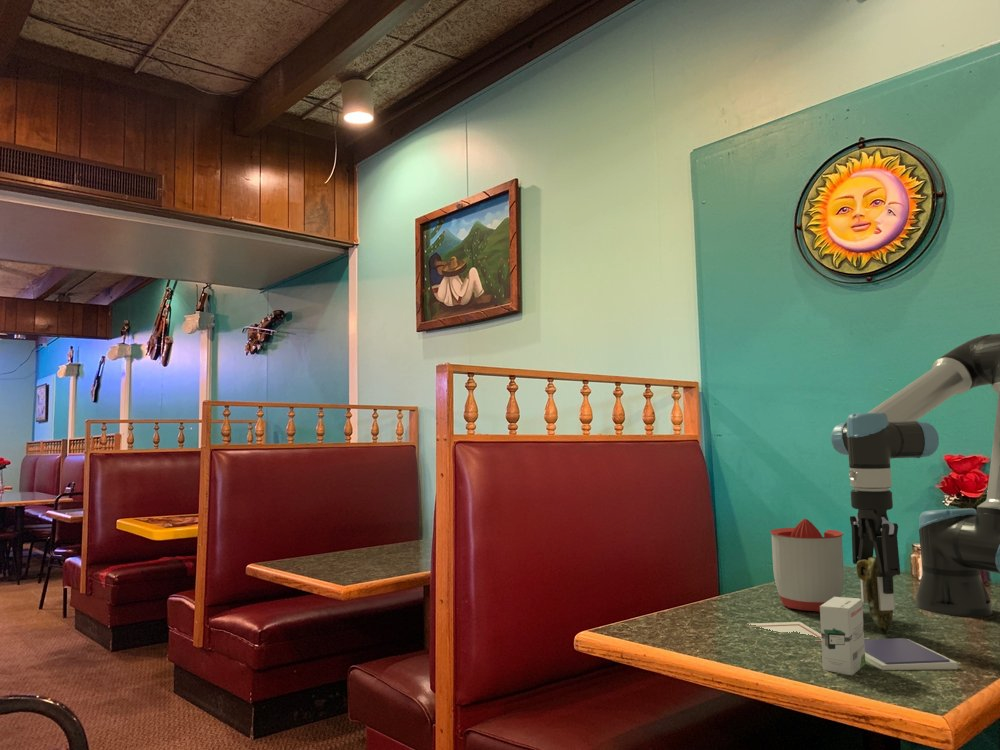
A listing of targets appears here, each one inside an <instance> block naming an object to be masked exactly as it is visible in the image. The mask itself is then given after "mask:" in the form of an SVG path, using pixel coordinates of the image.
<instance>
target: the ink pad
mask: <svg viewBox="0 0 1000 750" xmlns="http://www.w3.org/2000/svg"><path fill="white" fill-rule="evenodd" d="M864 644H865V662H867V663H869V664H871V665H872V666H874V667H876V668H878V669H879V670H882V671H883V670H884V671H886V670H887V671H891V670H893V671H894V670H895V671H896V670H899V671H900V670H902V671H904V670H908V671H909V670H911V671H912V670H958V669H959V668H958V667H959V666H958V661H956V660H953V659H951V658H948V656H947V657H946V656H945V655H943V654H940V653H938V652H937V651H934V650H933V649H930V648H929V647H926V646H924V645H922V644H920V643H918V642H916V641H913V640H912V639H909V638H905V637H898V638H873V639H871V638H870V639H867V638H866V639H864Z"/></svg>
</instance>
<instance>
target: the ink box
mask: <svg viewBox="0 0 1000 750" xmlns="http://www.w3.org/2000/svg"><path fill="white" fill-rule="evenodd" d="M819 615H820V619H819V621H820V634H821V641H822V642H821V641H820V642H821V655H822V656H821V657H822V658H821V659H822V661H821V662H822V670H823V671H828V672H834V673H837V674H842V675H848V676H853V675H855V674H856V673H857V672H858V671H859V670H861V669H862V668H863V667H864V666H865V665H866V661H865V644H864V640H865V631H864V630H865V629H864V608H863V602H862V599H861V598H857V597H842V596H841V597H833V598H832V599H830V600H829V601H827V602H825V603H824V604H822V605H821V606H820V612H819Z"/></svg>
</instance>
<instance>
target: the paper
mask: <svg viewBox="0 0 1000 750" xmlns="http://www.w3.org/2000/svg"><path fill="white" fill-rule="evenodd" d="M748 624H749V625H750V624H751V625H756V626H747V627H746V628H751V627H760V628H761V627H762V628H764V629H768V630H769V629H770V630H771V631H772V630H773V631H778V632H788V633H789V632H790V633H791V632H793V631H794V632H796V631H797V632H798V633H799V632H800V634H806V635H808V634H809V635H813V636H815V637H819V638H820V639H821V632H820V633H819V632H818V631H817V630H815V629H813V628H811V627H809V626H808V625H806V624H805V623H803V622H801V621H790V622H789V621H787V622H785V621H783V622H759V623H758V622H757V623H755V622H754V623H753V622H751V623H748ZM771 631H770V632H771ZM814 642H821V640H815V641H814Z"/></svg>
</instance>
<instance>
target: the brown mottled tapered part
mask: <svg viewBox="0 0 1000 750" xmlns="http://www.w3.org/2000/svg"><path fill="white" fill-rule="evenodd" d="M863 567H864V568H865V569H866V575H865V574H864V572H863ZM856 573H857V577H858V578H859V579H861V580H863V581H866V583H865V587H866V595H867V596H866V600H867V601H868V603H867V604H868V605H867V606H868V608H869V610H868V613H869V616H870V618H872V620H873V622H874V625H875V626H876V627H877V628H878V629H879V630H880V632H881V633H882V634H888V632H889V631H890V629H891V626H892V623H893V616H894V615H893V613H894V610H883V611H881V610H879V602H878V585H877V576H876V574H880V573H879V569H878V564H877V559H876V556H873V557H870V558H868V560H860V561H858V562H857V564H856Z"/></svg>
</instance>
